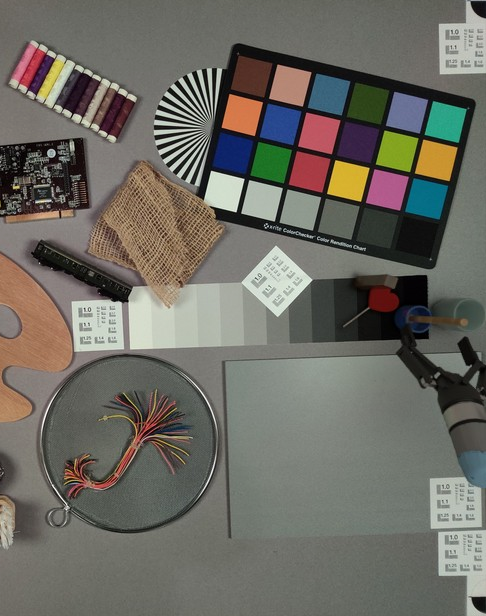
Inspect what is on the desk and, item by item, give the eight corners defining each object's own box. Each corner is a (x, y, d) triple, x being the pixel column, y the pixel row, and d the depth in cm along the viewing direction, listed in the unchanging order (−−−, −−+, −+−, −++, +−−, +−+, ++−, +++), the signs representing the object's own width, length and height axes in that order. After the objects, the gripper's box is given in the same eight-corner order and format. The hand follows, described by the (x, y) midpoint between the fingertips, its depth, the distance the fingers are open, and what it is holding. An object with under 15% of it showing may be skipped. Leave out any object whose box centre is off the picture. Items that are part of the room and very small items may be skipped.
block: (366, 279, 144) (398, 278, 130) (362, 289, 144) (394, 289, 130) (356, 276, 144) (387, 274, 130) (352, 286, 144) (383, 285, 130)
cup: (424, 327, 144) (451, 329, 134) (428, 295, 144) (456, 295, 134) (454, 331, 144) (484, 334, 134) (459, 300, 144) (489, 300, 134)
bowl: (423, 310, 144) (436, 311, 139) (414, 335, 144) (426, 336, 139) (399, 301, 144) (411, 301, 139) (390, 326, 144) (402, 327, 139)
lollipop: (351, 339, 144) (401, 303, 144) (353, 340, 143) (403, 303, 143) (332, 313, 143) (382, 277, 143) (334, 313, 143) (384, 276, 143)
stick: (413, 316, 143) (470, 319, 123) (410, 323, 143) (466, 328, 123) (406, 313, 143) (461, 316, 123) (403, 320, 143) (458, 325, 123)
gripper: (393, 408, 120) (371, 332, 135) (509, 434, 121) (475, 355, 136) (414, 387, 115) (389, 310, 130) (536, 414, 116) (497, 335, 130)
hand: (433, 333), depth 133 cm, fingers open, 13 cm apart
